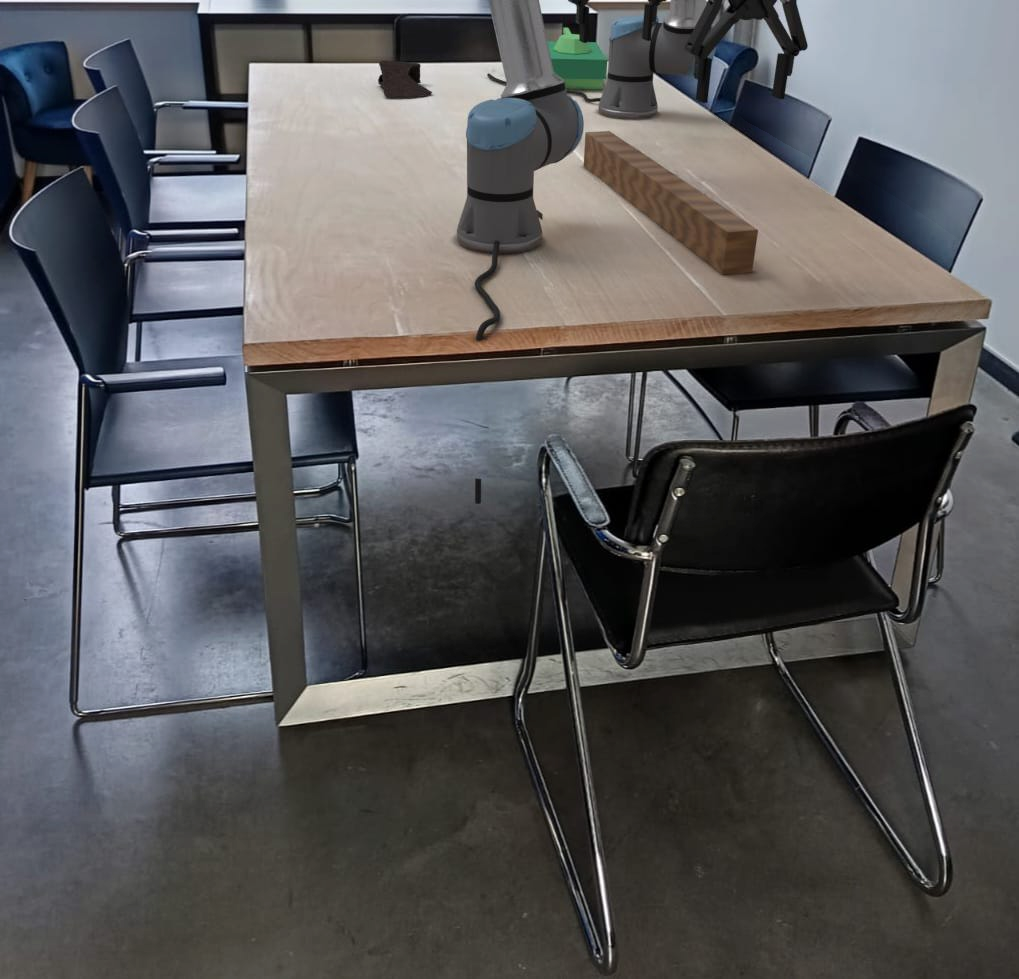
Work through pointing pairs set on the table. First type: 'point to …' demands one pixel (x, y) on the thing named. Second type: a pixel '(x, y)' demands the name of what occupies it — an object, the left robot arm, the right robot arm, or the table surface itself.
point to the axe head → (401, 79)
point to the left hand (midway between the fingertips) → (740, 99)
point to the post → (672, 203)
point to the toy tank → (578, 62)
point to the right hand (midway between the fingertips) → (615, 41)
